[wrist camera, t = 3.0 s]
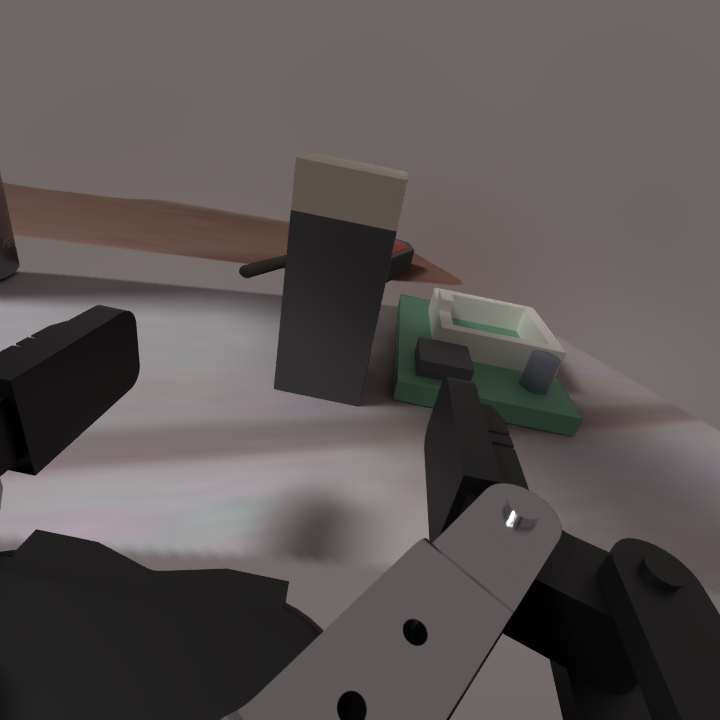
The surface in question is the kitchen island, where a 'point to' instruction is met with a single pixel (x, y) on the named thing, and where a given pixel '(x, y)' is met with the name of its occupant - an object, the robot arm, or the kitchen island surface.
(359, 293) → the grey and cream block
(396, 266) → the walkie-talkie
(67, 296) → the kitchen island surface
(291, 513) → the kitchen island surface
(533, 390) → the controller board
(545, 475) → the kitchen island surface
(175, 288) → the kitchen island surface
